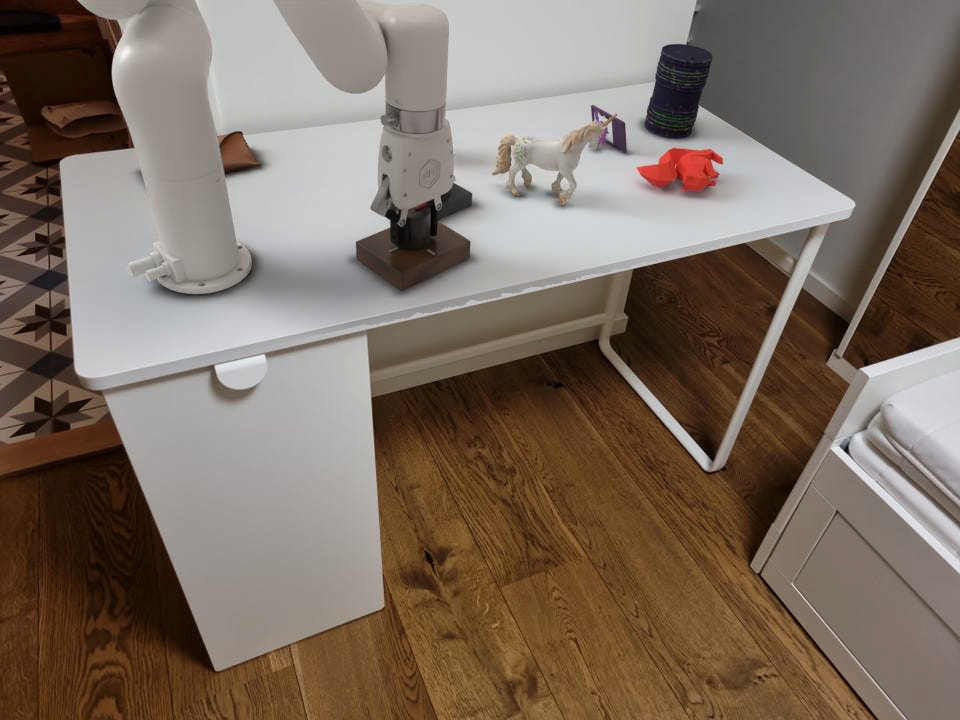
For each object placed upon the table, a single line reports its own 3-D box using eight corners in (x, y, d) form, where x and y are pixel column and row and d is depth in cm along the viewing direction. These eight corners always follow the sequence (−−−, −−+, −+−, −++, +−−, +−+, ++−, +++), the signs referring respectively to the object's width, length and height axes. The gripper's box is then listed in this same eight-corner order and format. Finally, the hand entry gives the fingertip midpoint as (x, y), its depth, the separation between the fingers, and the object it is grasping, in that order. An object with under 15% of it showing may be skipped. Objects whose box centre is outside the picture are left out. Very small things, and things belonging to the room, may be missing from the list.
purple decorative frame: (628, 120, 131) (595, 102, 136) (606, 134, 130) (574, 116, 135) (629, 150, 136) (597, 132, 141) (609, 164, 135) (577, 145, 140)
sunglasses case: (156, 189, 113) (140, 146, 111) (148, 193, 118) (133, 152, 117) (265, 164, 121) (252, 124, 120) (253, 169, 127) (240, 130, 125)
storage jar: (638, 117, 149) (654, 42, 139) (683, 118, 150) (703, 44, 140) (651, 138, 142) (670, 61, 132) (699, 139, 143) (721, 63, 133)
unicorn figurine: (609, 209, 119) (625, 132, 111) (492, 203, 118) (499, 125, 109) (602, 188, 125) (617, 113, 116) (490, 182, 123) (497, 106, 114)
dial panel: (401, 291, 98) (401, 272, 96) (356, 259, 103) (355, 240, 101) (469, 258, 106) (471, 240, 103) (424, 229, 111) (425, 211, 108)
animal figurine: (624, 178, 128) (630, 152, 125) (684, 162, 135) (691, 136, 131) (669, 208, 121) (676, 181, 118) (730, 190, 128) (739, 163, 124)
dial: (412, 253, 100) (413, 220, 96) (390, 239, 102) (390, 206, 99) (436, 242, 103) (438, 209, 99) (414, 228, 105) (415, 196, 101)
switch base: (420, 227, 111) (420, 204, 108) (383, 203, 116) (383, 181, 113) (471, 205, 117) (473, 183, 115) (434, 183, 122) (435, 161, 119)
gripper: (383, 143, 83) (385, 273, 95) (483, 107, 93) (474, 229, 105) (342, 121, 87) (349, 249, 99) (443, 89, 97) (438, 209, 109)
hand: (414, 237), depth 102 cm, fingers closed on dial, 4 cm apart
